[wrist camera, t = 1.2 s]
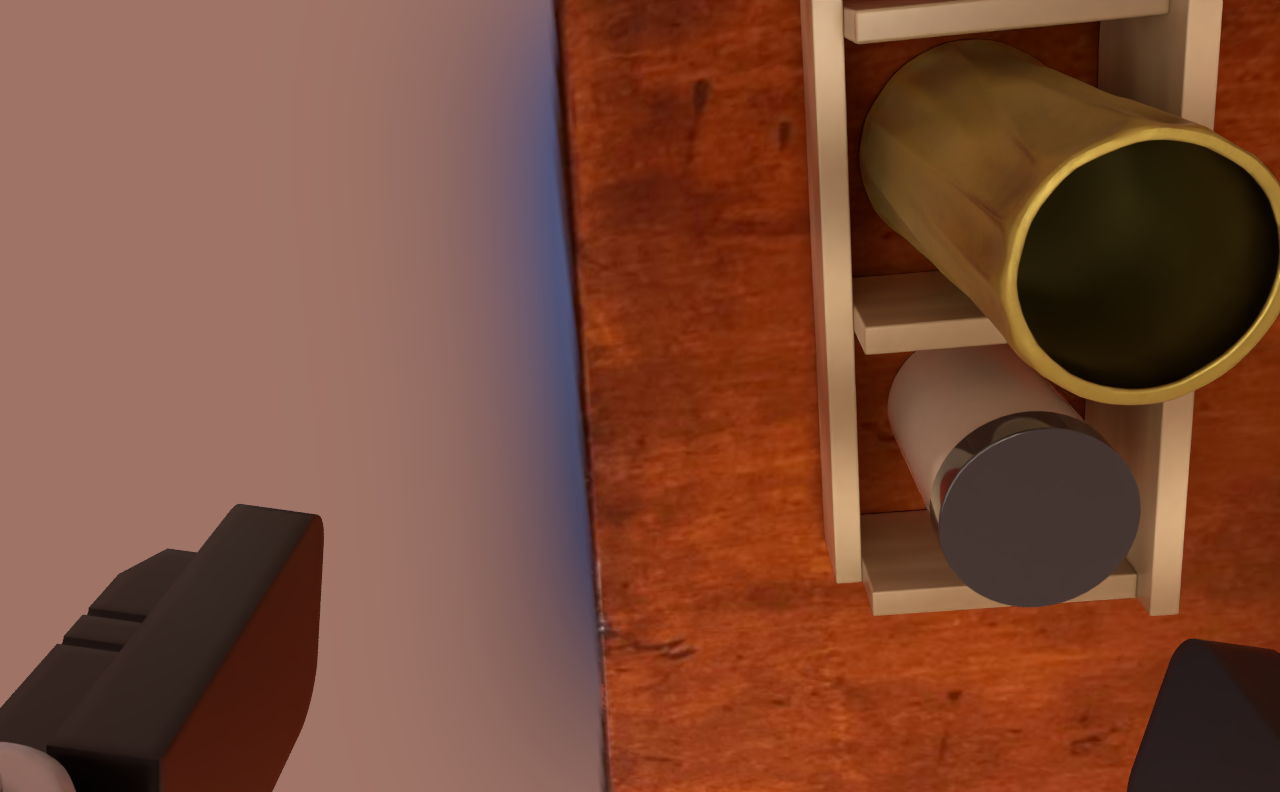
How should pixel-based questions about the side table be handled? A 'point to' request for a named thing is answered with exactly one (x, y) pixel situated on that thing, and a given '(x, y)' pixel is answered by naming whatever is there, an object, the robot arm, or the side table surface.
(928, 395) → the spice jar
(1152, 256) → the vase
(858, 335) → the rack
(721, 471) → the side table surface
